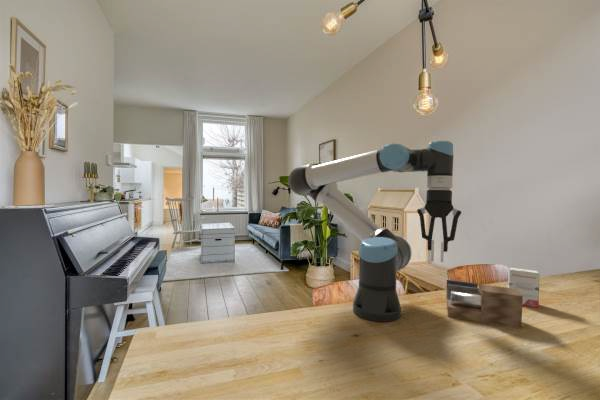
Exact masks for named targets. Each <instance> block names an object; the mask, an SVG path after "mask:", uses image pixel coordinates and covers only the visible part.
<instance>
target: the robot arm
mask: <svg viewBox="0 0 600 400" xmlns="http://www.w3.org/2000/svg"><path fill="white" fill-rule="evenodd" d="M453 170H454V144H453V143H452V142H451V141H449V140H437V141H435V140H434V141H430V142H428V144H427V148H422V149H418V148H417V149H410V148H408V147H406V146H404V145H403V144H399V143H388V144H386V145H385V146H383V148H380V149H376V150H372V151H367V152H364V153H360V154H356V155H353V156H348V157H344V158H341V159H336V160H333V161H329V162H325V163H321V164H317V165H314V163H313V164H312V163H310V164H305V165H302V166H297V167H295V168H294V169H292V171H290V173H289V175H288V186H289V188H290V190H291V191H292V192H293V193H295V194H296V195H298V196H309V197H310V198H311V199H312V200H313V201H314V202H315V203H316V204H318V205H320V204H321V205H324V206H325V208H327V210H328V211H330V213H332V214H333V215H334V216H335V217H336V218H337V219H338V220H339V221H340V222H341V223H342V224H343V225H344V226H345V227H346V228H347V229H348V230H350V231H351V233H352V234H353V235H355V236H356V237H357V239H359V240H360V241H361V242H360V244H359V250H358V255H359V257H358V258H359V259H358V260H359V261H358V263H359V264H358V287H357V290H356V293H355V296H354V299H353V302H352V311H353V313H354V314H355V315H356V316H358V317H361V318H362V319H366V320H369V321H374V322H394V321H397V320H398V319H400V318H401V317H402V306H401V303H400V300H399V299H400V298H399V296H398V295H399V294H398V292H397V273H398V271H400V270H402V269H404V268H406V266H407V265H408V264H409V263H410V261H411V259H412V255H413V254H412V248H411V246H410V244H409V242H408V241H407V240H406V239H405V238H403V237H401V236H399V235H395V234H394V233H393V232H392V231H391V230H389V229H388V227H380V225H378V224H377V223H375V221H374V220H372V219H371V218H370V217H369V216H368V215H367V214H366V213H365V212H364V211H363V210H362V209H361V208H359V207H358V206H357V205H356V204H355V203H354V202H353V201H351V199H349V198H348V197H347V196H346V195H345V194H344V193H343V192H342V191H341V190H340V189H339V188H338V183H339V182H344V181H348V180H353V179H357V178H363V177H367V176H372V175H377V174H381V173H382V174H383V173H387V172H394V173H411V172H413V173H414V172H417V173H418V172H426V173H427V175H426V188H427V190H426V199H425V200H426V202H425V204H424V207H421V208H418V209H417V210H416V212H417V214H418V216H419V222H420V230H421V239H424V240H426V241H427V251H430V262H434V260H435V259H434V257H435V255H434V253H435V240H434V239H433V235H434V234H433V233H434V228H435V220H436V218H440V219H441V225H442V226H441V227H442V228H441V229H442V236H443V240H441V241H440V257H439V258H440V260H439V261H440V263H444V255H445V252H446V253H447V252H448V250H449V249H448V246H449V244H448V243H449V242H452V241H454V240H455V238H456V237H455V236H456V231H457V227H458V221H459V218H460V216H461V214H462V211H461V210H459V209H457V208H454V205H453V191H452V190H451V189H452V188H453V172H454V171H453ZM425 211H426V212H427V213H428V214H429V216H430V223H429V228H428V235H427V233H426V232H427V231H426V225H425V216H424V215H425V213H426V212H425ZM451 212H452V215H453V217H452V221H451V222H452V223H451V229H450V232H449V233H450V234H449V236H448V229H447V228H448V227H447V226H448V224H447V217H448V216H449V214H450V213H451Z"/></svg>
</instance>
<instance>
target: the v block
mask: <svg viewBox="0 0 600 400" xmlns="http://www.w3.org/2000/svg"><path fill="white" fill-rule="evenodd" d="M478 289H479V284H478V282H471V281H469V282H468V281H461V280H453V279H446V290H445V292H446V294H445V296H446V300H447V299H448V300H451V291H455V292H462V293H469V294H477V295H478Z"/></svg>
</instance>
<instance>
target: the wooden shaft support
mask: <svg viewBox="0 0 600 400" xmlns="http://www.w3.org/2000/svg"><path fill="white" fill-rule="evenodd" d="M478 288H479V289H478V295H481V308H475V307H468V306H462V305H455V304H451V300H448V299H447V298H446V312H447V313H446V314H447V317H449V318H450V317H452V318H456V319H457V318H458V319H462V320H469V321H473V320H474V322H480V323H485V322H486V323H485V324H491V323H493V324H492V325H497V324H498V326H503V327H504V326H505V327H510V328H517V329H522V322H523V321H522V319H523V305H522V300H523V296H522V295H521V294H520V293H519V291H518V290H517V289H514V288H508V287H503V286H496V285H489V284H481V283H479V284H478Z"/></svg>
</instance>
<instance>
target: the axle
mask: <svg viewBox="0 0 600 400" xmlns="http://www.w3.org/2000/svg"><path fill="white" fill-rule="evenodd" d="M451 304H455V305H462V306H468V307H475V308H481V295H477V294H469V293H462V292H455V291H451Z"/></svg>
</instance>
